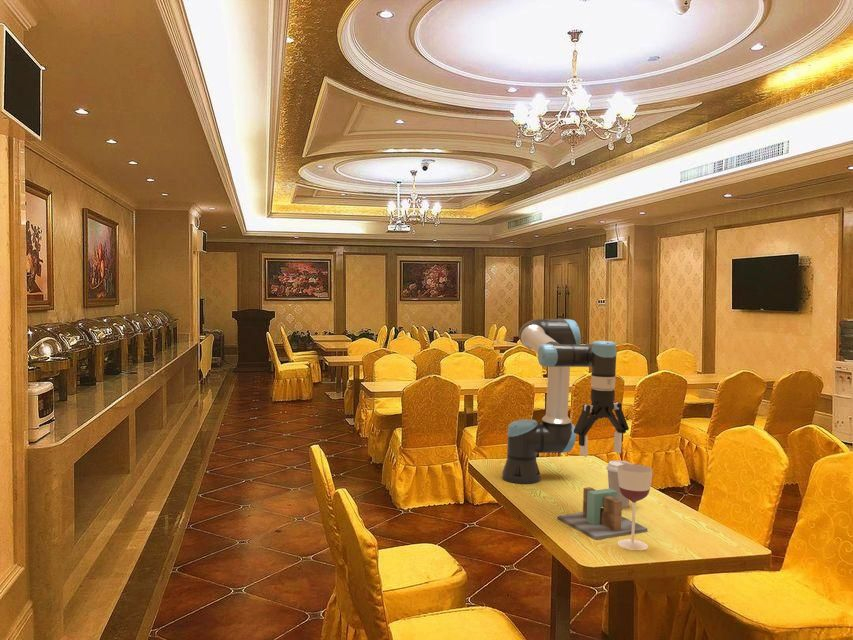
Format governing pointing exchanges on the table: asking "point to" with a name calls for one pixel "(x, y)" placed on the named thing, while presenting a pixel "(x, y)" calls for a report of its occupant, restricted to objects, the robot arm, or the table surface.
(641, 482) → the wineglass
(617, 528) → the joint base
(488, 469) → the table surface
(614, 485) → the coffee cup
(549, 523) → the table surface
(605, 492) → the green arch block
